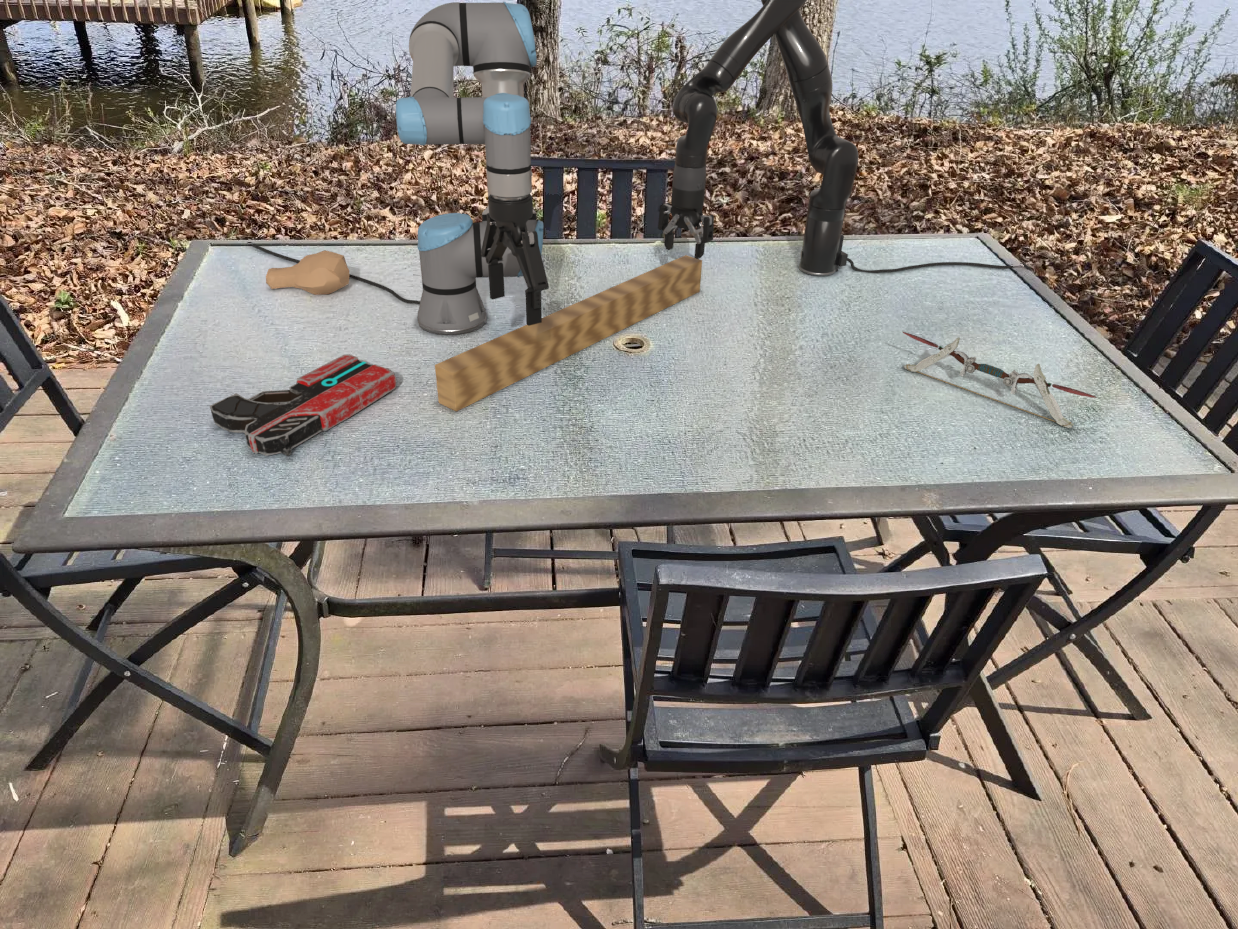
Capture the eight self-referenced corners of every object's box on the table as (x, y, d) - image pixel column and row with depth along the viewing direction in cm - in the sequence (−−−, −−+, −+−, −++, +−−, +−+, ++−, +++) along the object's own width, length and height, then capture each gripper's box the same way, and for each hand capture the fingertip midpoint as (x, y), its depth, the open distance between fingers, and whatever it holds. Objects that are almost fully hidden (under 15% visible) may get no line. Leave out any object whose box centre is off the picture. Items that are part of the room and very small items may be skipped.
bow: (1085, 430, 164) (1103, 383, 158) (1082, 434, 163) (1099, 386, 157) (897, 362, 185) (907, 319, 179) (893, 365, 184) (902, 321, 178)
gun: (194, 409, 153) (271, 444, 146) (327, 342, 175) (400, 368, 168) (201, 431, 156) (277, 466, 148) (331, 362, 178) (403, 389, 170)
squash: (349, 299, 206) (336, 265, 200) (267, 306, 208) (252, 273, 202) (359, 274, 214) (347, 241, 208) (280, 281, 216) (266, 249, 209)
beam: (456, 411, 164) (452, 373, 160) (438, 402, 167) (434, 364, 162) (699, 291, 215) (702, 259, 211) (683, 286, 218) (685, 254, 213)
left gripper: (568, 210, 142) (569, 330, 154) (494, 172, 159) (500, 283, 171) (528, 218, 139) (532, 340, 151) (457, 178, 156) (465, 291, 167)
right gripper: (724, 187, 198) (717, 257, 207) (673, 174, 205) (669, 242, 214) (705, 194, 193) (698, 265, 202) (654, 181, 200) (650, 249, 209)
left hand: (515, 310), depth 161 cm, fingers open, 13 cm apart
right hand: (683, 253), depth 208 cm, fingers open, 8 cm apart
